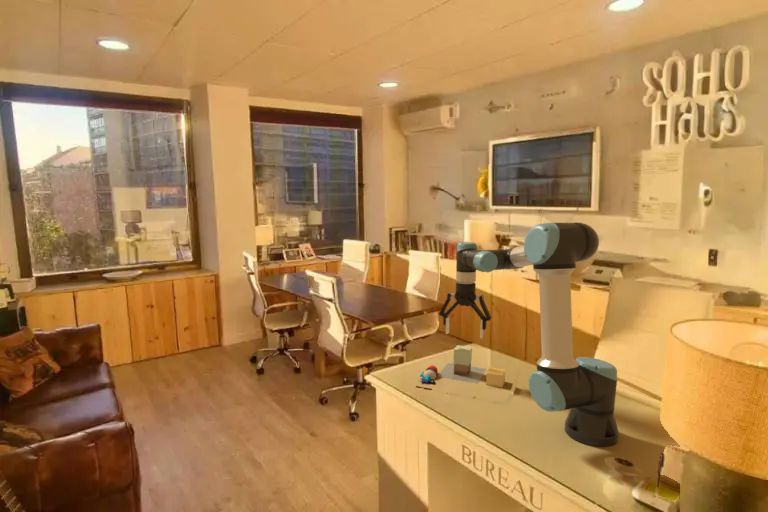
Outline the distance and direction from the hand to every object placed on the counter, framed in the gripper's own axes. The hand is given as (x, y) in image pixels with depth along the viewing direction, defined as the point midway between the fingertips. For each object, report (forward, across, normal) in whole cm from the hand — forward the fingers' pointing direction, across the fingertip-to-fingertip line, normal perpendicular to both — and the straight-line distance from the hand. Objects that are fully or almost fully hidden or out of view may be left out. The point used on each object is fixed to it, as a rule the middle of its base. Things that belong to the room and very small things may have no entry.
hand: (464, 335), depth 189 cm
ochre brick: (+17, -14, +4) cm, 22 cm away
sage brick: (+11, 0, 0) cm, 11 cm away
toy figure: (+17, +11, +11) cm, 23 cm away
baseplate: (+17, 0, 0) cm, 17 cm away
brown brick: (+15, 0, 0) cm, 15 cm away
